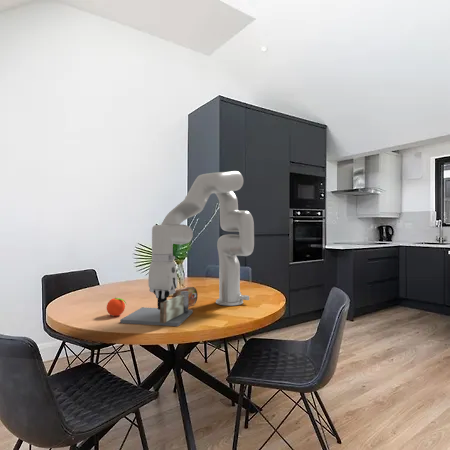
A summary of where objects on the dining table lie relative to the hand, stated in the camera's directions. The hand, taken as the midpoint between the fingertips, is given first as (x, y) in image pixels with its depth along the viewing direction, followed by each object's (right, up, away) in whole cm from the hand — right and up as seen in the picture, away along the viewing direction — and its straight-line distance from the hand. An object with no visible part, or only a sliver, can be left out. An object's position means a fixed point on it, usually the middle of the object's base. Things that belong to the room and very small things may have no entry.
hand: (162, 308), depth 121 cm
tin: (+5, -6, +24) cm, 26 cm away
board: (-3, -5, +7) cm, 9 cm away
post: (+7, -5, +10) cm, 13 cm away
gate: (+4, -4, +1) cm, 5 cm away
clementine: (-19, -5, +9) cm, 22 cm away
